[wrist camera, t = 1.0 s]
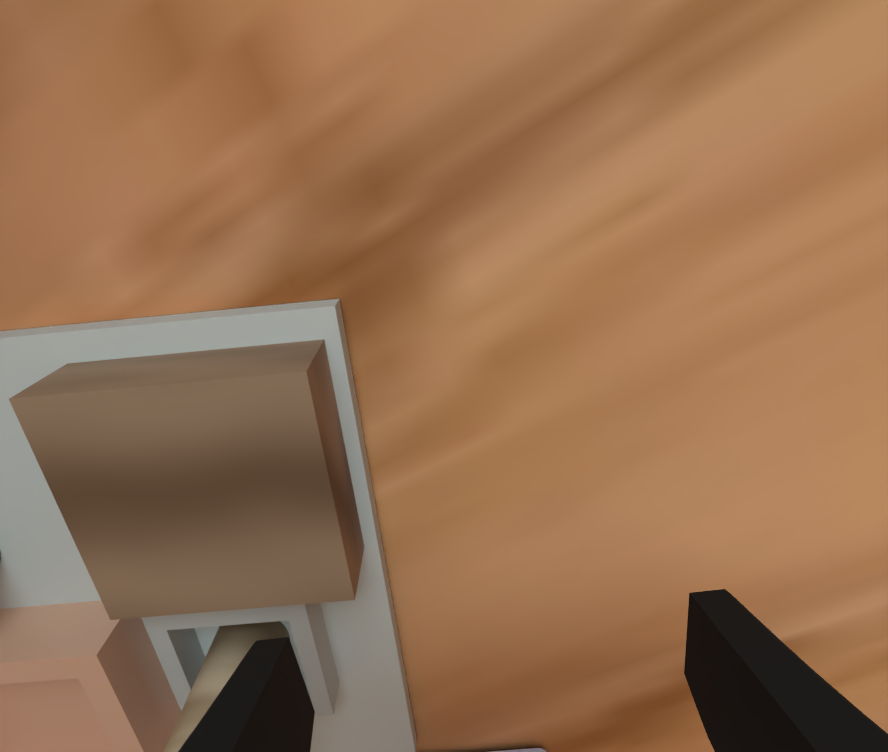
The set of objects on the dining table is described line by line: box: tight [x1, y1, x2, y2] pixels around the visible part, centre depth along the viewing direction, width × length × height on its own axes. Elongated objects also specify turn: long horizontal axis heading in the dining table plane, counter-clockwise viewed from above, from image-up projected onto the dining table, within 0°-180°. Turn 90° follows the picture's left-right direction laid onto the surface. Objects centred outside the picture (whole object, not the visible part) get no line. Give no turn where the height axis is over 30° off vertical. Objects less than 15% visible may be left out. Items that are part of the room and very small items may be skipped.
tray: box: [0, 601, 181, 752], centre depth 22 cm, size 10×10×2 cm
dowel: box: [164, 621, 290, 752], centre depth 18 cm, size 3×3×7 cm
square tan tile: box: [9, 339, 364, 620], centre depth 17 cm, size 8×8×2 cm
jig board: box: [0, 299, 417, 752], centre depth 19 cm, size 21×20×5 cm
